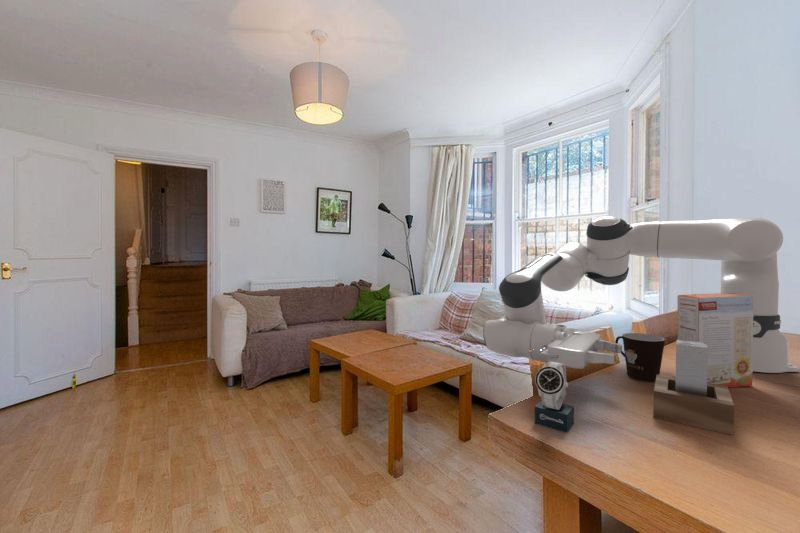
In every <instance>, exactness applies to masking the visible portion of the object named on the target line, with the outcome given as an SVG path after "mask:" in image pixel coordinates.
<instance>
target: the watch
mask: <svg viewBox="0 0 800 533" xmlns="http://www.w3.org/2000/svg"><path fill="white" fill-rule="evenodd" d="M567 381H568V380H567V370H566V366H565V365H564V364H562V363H557V362H551V361H549V362H548V363H544V365H543V366H542V367H541V368H540V369H539V370H538V371H537V372H536V374H535V378H534V383H535V386H536V388H537V392H538V395H539V397H540V398H541V400H540V401H538V402H537V404H535V405H534V424H536V425H539V426H543V427H546V428H549V429H553V430H557V431H559V432H563V433H567V434H568V433H569V431H570V429H571V428H572V426H573V425H574V421H575V417H574V416H575V412H574V411H575V406H574V405H570V404H566V403H563V401H565V398H566V395H567V392H566V391H567V388H568V387H569V382H567Z"/></svg>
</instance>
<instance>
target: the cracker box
mask: <svg viewBox="0 0 800 533" xmlns="http://www.w3.org/2000/svg"><path fill="white" fill-rule="evenodd" d="M677 340H683V341H692V342H701V343H707V347H708V367H707V383H711V384H717V385H724V386H728V388H737V387H738V388H739V387H752V386H753V380H754V379H753V378H754V377H753V376H754V375H753V372H754V371H753V295H745V294H737V293H721V292H719V293H690V294H689V293H688V294H678V295H677Z"/></svg>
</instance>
